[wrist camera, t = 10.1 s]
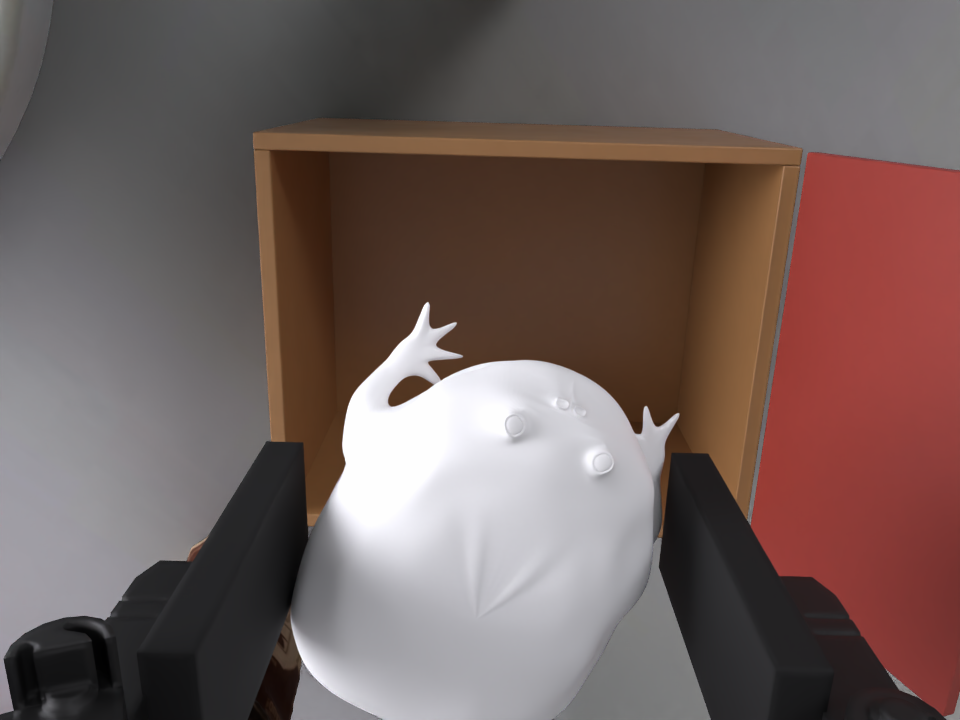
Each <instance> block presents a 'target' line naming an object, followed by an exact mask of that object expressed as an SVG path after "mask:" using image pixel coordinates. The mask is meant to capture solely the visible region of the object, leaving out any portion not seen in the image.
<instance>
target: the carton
mask: <svg viewBox="0 0 960 720" xmlns="http://www.w3.org/2000/svg"><path fill="white" fill-rule="evenodd" d="M253 148H254V149H255V150H254V164H255V181H256V197H257V214H258V231H259V247H260V264H261V281H262V297H263V314H264V330H265V347H266V364H267V380H268V397H269V414H270V430H271V442H303V444H304V464H305V484H306V504H307V524H308V526H314V525H315V523H316V521H317V519H318V517H319V515H320V513H321V511H322V510H323V508H324V506H325V504H326V503H327V501H328V499H329V497H330V495H331V493H332V491H333V489H334V487H335V485H336V483H337V481H338V480H339V478H340V476H341V474H342V473H343V471H344V467H345V465H346V462H345V457H344V454H343V448H342V442H343V432H344V425H345V419H346V414H347V409H348V406H349V403H350V400H351V398H352V396H353V394H354V393H355V391H356V390H357V389H358V387H359V386H360V385H361V384H362V383H363V382H364V381H365V380H366V379H367V378H368V377H369V376H370V375H371V374H372V373H373V372H374V371H375V370H376V369H377V368H378V367H379V366H380V365H381V364H383V363H384V362H385V361H386V360H387V359H388V357H389V356H390V355H391V353H392V352H393V351H394V349H395V348H396V347H397V346H398V345H399V344H400V343H401V342H402V341H403V340H404V339H405V338H407V337H408V336H409V335H410V334H411V333H412V332H413V330H414V328H415V326H416V324H417V321H418V319H419V317H420V314H421V312H422V309H423V307H424V305H425V304H426V303H427V302H428V303H429V305H430V311H429V325H430V327H431V328H432V329H437V328H441V327H444V326H446V325H449V324H451V323H455V322H456V323H457V324H456V326H455V327H454V328H453V329H452V330H451V331H449V332H448V333H447V334H446V335H444V336H443V337H442V338H441V339H439V341H438V342H437V343H436V346H437V347H438V348H440V349H442V350H445V351H448V352H452V353H456V354H460V355H462V356H463V357H462V358H458V359H446V360H433V361H429V362H428V364H429V365H430V367H431V368H432V369H433V370H434V371H435V372H436V374H437V375H438V376H439V378H440V380H443V379H444V378H446V377H448V376H450V375H452V374H454V373H456V372H459V371H461V370H463V369H466V368H469V367H472V366H475V365H479V364H484V363H489V362H497V361H516V360H536V361H543V362H548V363H552V364H556V365H559V366H562V367H565V368H568V369H570V370H572V371H575V372H577V373H579V374H581V375H583V376H585V377H587V378H588V379H590V380H592V381H593V382H595V383H596V384H598V385H599V386H601V387H602V388H603V389H604V390H605V391H607V392H608V393H609V394H610V395H611V396H612V397H613V398H614V400H615V401H616V402H617V403H618V404H619V406H620V407H621V409H622V410H623V412H624V413H625V415H626V417H627V419H628V421H629V423H630V425H631V427H632V429H633V431H634V433H635V434H641V433H642V429H643V411H644V407H645V406H647V407H648V410H649V412H650V416H651V419H652V421H653V423H654V425H655V426H656V427H659V426H661V425H663V424H664V423H666V422H667V421H668V420H669V419H670V418H671V417H673V416H674V415H675V414H677V413H679V414H680V415H679V418H678V420H677V421H676V423H675V425H674V427H673V428H672V430H671V432H670V433H669V435H668V437H667V439H666V442H665V447H664V448H665V459H664V464H663V469H662V473H661V477H660V487H661V502H662V526H661V530H660V533H659V535H658V537H657V538H662V535H663V525H664V516H665V507H666V498H667V489H668V480H669V471H670V462H671V453H707V454H709V455H710V457H711V459H712V461H713V462H714V464H715V466H716V468H717V469H718V471H719V473H720V474H721V476H722V478H723V480H724V481H725V483H726V485H727V487H728V488H729V490H730V492H731V494H732V495H733V497H734V499H735V500H736V502H737V504H738V506H739V507H740V509H741V511H742V513H743V514H744V516H745V518H746V520H747V517H748V510H749V503H750V497H751V490H752V484H753V477H754V470H755V464H756V457H757V450H758V444H759V437H760V431H761V424H762V417H763V411H764V404H765V397H766V391H767V384H768V378H769V371H770V364H771V358H772V351H773V345H774V338H775V331H776V325H777V318H778V311H779V305H780V298H781V292H782V285H783V278H784V272H785V265H786V258H787V252H788V245H789V239H790V232H791V225H792V219H793V212H794V206H795V199H796V192H797V186H798V179H799V172H800V166H799V165H800V164H801V158H802V152H803V150H802V148H798V147H793V146H789V145H784V144H780V143H775V142H771V141H766V140H762V139H758V138H753V137H749V136H744V135H740V134H735V133H731V132H726V131H722V130H717V129H683V128H649V127H616V126H582V125H548V124H514V123H480V122H446V121H413V120H379V119H345V118H316V119H311V120H307V121H302V122H298V123H293V124H289V125H284V126H280V127H275V128H271V129H266V130H261V131H257V132H253ZM433 385H434V384H432V383H431V382H429V381H428V380H426V379H424V378H422V377H420V376H416V375H413V376H408V377H406V378H404V379H403V380H401V381H400V382H399V383H398V384H397V386H396V387H395V388H394V389H393V390H392V392H391V393H390V395H389V398H388V404H389V406H391V407H394V406H398V405H401V404H403V403H405V402H407V401H409V400H411V399H413V398H414V397H416V396H418V395H420V394H421V393H423V392H425V391H427V390H428V389H429V388H431V387H432V386H433Z"/></svg>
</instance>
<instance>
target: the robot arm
mask: <svg viewBox="0 0 960 720" xmlns="http://www.w3.org/2000/svg"><path fill="white" fill-rule="evenodd" d="M307 542H308V524H307V504H306V484H305V464H304V444H303V442H269V441H267V442H266V443H265V445H264V447H263V448H262V450H261V451H260V453H259V455H258V456H257V458H256V460H255V461H254V463H253V464H252V466H251V468H250V469H249V471H248V472H247V474H246V476H245V477H244V479H243V481H242V482H241V484H240V485H239V487H238V489H237V490H236V492H235V494H234V495H233V497H232V498H231V500H230V502H229V503H228V505H227V507H226V508H225V510H224V511H223V513H222V515H221V516H220V518H219V519H218V521H217V523H216V524H215V526H214V528H213V529H212V531H211V532H210V534H209V536H208V537H207V539H206V541H205V542H204V544H203V545H202V547H201V549H200V550H199V552H198V554H197V555H196V557H195V558H194V560H193V561H159V562H157V563H156V564H155V565H153V566H152V567H150V568H149V569H147V570H146V571H145V572H143V573H142V574H140V575H139V576H137V577H136V578H135V580H134V581H133V582H132V584H131V585H130V587H129V588H128V589H127V591H126V592H125V594H124V595H123V596H122V601H119V602H118V604H117V605H116V606H115V608H114V609H113V611H112V612H111V616H110V617H108V618H107V619H106V620H105V621H104V620H102V619H100V618H94V617H88V616H78V617H66V618H62V619H58V620H55V621H51V622H48V623H45V624H42V625H40V626H38V627H36V628H35V629H33V630H31V631H29V632H27V633H25V634H24V635H23V636H21V637H20V638H19V639H18V640H17V641H16V642H14V643H13V644H12V645H11V646H10V648H9V650H8V651H7V653H6V655H5V657H4V664H5V669H6V674H7V679H8V684H9V689H10V694H11V699H12V704H13V709H14V711H12V712H8V713H4V714H1V715H0V720H248V717H249V715H250V712H251V709H252V707H253V704H254V701H255V699H256V696H257V694H258V691H259V688H260V686H261V683H262V680H263V678H264V675H265V672H266V670H267V667H268V665H269V662H270V659H271V657H272V654H273V651H274V649H275V646H276V643H277V641H278V638H279V636H280V633H281V630H282V628H283V625H284V622H285V620H286V617H287V614H288V612H289V609H290V607H291V601H292V596H293V591H294V587H295V583H296V579H297V575H298V571H299V567H300V564H301V560H302V557H303V554H304V551H305V548H306V545H307ZM659 569H660V572H661V575H662V577H663V580H664V583H665V586H666V589H667V592H668V595H669V598H670V601H671V604H672V607H673V610H674V613H675V616H676V618H677V621H678V624H679V627H680V630H681V633H682V636H683V639H684V642H685V645H686V648H687V651H688V654H689V657H690V659H691V662H692V665H693V668H694V671H695V674H696V677H697V680H698V683H699V686H700V689H701V692H702V695H703V697H704V700H705V703H706V706H707V709H708V712H709V715H710V718H711V720H946V719H945V718H944V717H943V716H942V715H941V714H940V713H939V712H938V711H937V710H936V709H935V708H934V707H932V706H930V705H929V704H927V703H926V702H924V701H922V700H921V699H919V698H918V697H915V696H912V695H910V694H907V693H904V692H902V691H899V689H898V688H897V686H896V685H895V683H894V682H893V680H892V679H891V677H890V676H889V674H888V673H887V671H886V670H885V668H884V667H883V665H882V664H881V662H880V661H879V659H878V658H877V656H876V655H875V653H874V652H873V650H872V649H871V647H870V646H869V644H868V643H867V641H866V640H865V638H864V637H863V636H861V634H860V631H859V629H858V628H857V626H856V625H855V623H854V622H853V620H852V619H850V618H849V614H848V613H847V611H846V610H845V608H844V607H843V605H842V604H841V602H840V601H839V599H838V598H837V596H836V595H835V594H834V593H832V592H831V591H830V590H829V589H827V588H826V587H825V586H823V585H822V584H821V583H819V582H818V581H817V580H815V579H814V578H813V577H801V576H779V575H778V573H777V572H776V570H775V568H774V566H773V565H772V563H771V561H770V559H769V558H768V556H767V554H766V552H765V551H764V549H763V547H762V546H761V544H760V542H759V540H758V539H757V537H756V535H755V533H754V532H753V530H752V528H751V526H750V525H749V523H748V521H747V520H746V518H745V516H744V514H743V513H742V511H741V509H740V507H739V506H738V504H737V502H736V500H735V499H734V497H733V495H732V494H731V492H730V490H729V488H728V487H727V485H726V483H725V481H724V480H723V478H722V476H721V474H720V473H719V471H718V469H717V468H716V466H715V464H714V462H713V461H712V459H711V457H710V455H709V454H707V453H671V462H670V471H669V480H668V489H667V498H666V507H665V516H664V525H663V535H662V544H661V553H660V562H659Z"/></svg>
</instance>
